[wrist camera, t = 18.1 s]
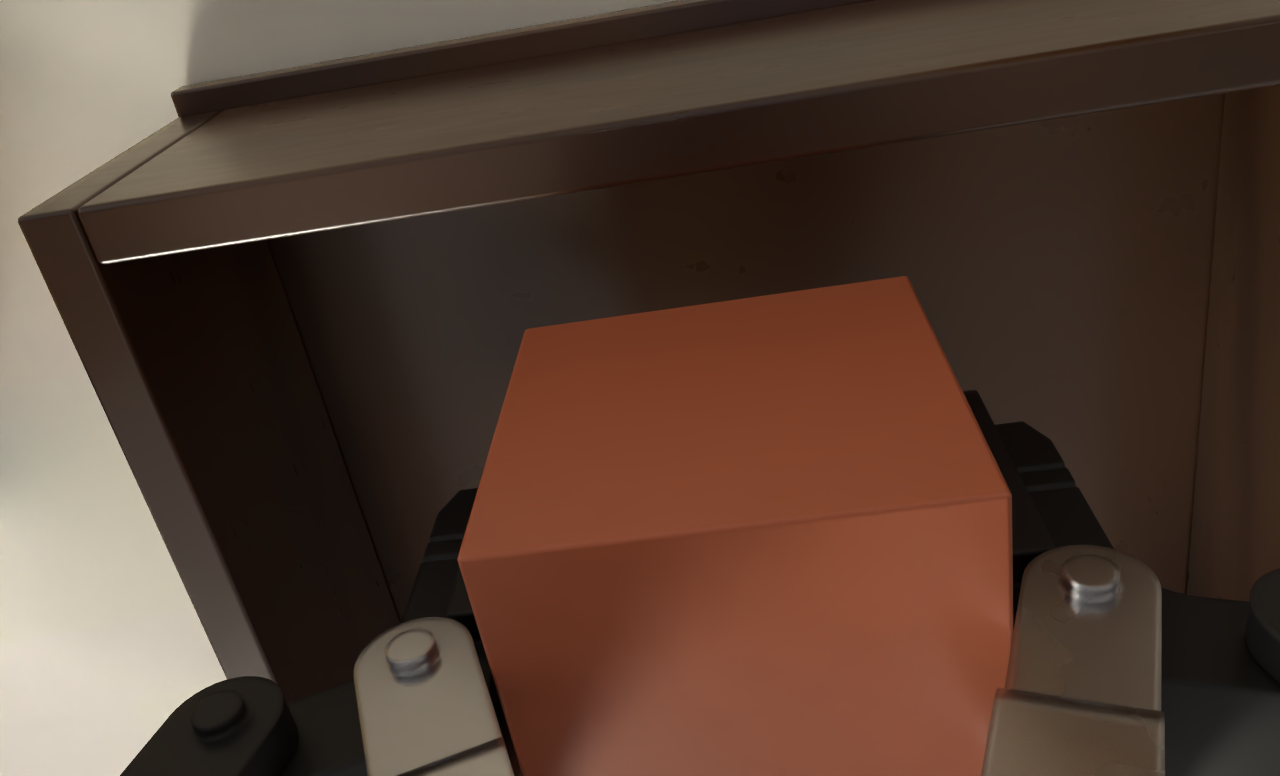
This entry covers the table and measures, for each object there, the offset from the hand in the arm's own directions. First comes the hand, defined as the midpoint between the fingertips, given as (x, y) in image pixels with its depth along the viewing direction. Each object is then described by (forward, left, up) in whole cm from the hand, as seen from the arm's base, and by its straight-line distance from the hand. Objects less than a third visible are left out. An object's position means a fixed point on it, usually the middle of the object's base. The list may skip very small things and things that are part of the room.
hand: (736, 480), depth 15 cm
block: (0, 0, 0) cm, 0 cm away
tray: (0, -6, -6) cm, 8 cm away
